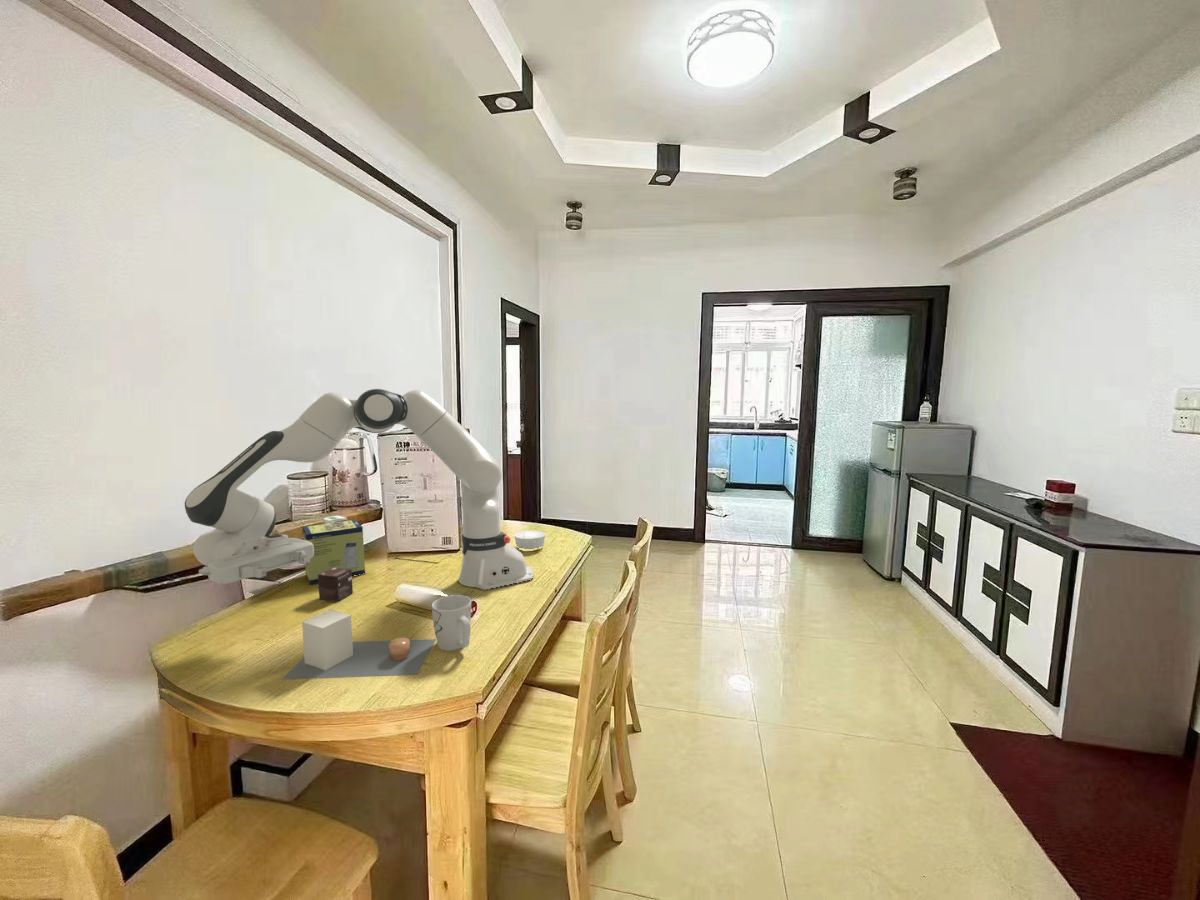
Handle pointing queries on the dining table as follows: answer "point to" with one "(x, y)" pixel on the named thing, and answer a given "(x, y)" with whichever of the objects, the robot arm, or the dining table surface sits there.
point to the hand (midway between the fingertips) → (285, 566)
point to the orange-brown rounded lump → (399, 648)
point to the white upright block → (327, 639)
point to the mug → (452, 621)
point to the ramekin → (530, 539)
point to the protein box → (335, 548)
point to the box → (335, 584)
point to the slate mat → (369, 662)
